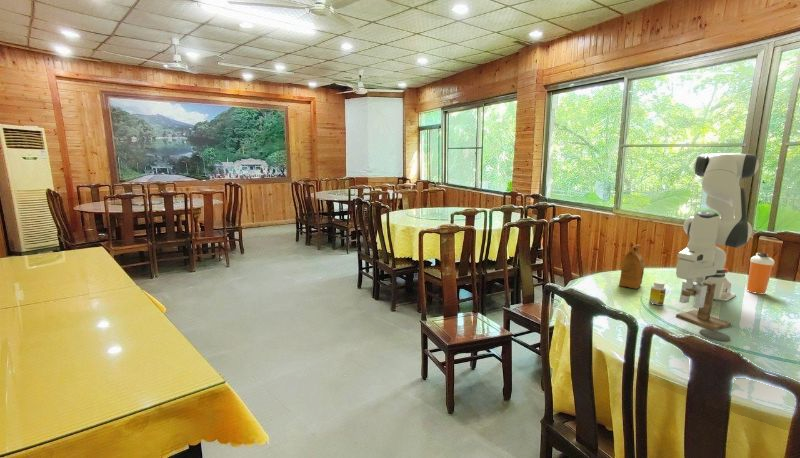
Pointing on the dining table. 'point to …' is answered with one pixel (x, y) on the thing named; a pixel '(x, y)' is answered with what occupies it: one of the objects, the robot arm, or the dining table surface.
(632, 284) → the coffee package
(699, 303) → the c link
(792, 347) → the dining table surface
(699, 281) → the robot arm
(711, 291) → the hook stand
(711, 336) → the felt pad
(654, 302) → the supplement bottle
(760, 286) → the shaker bottle
